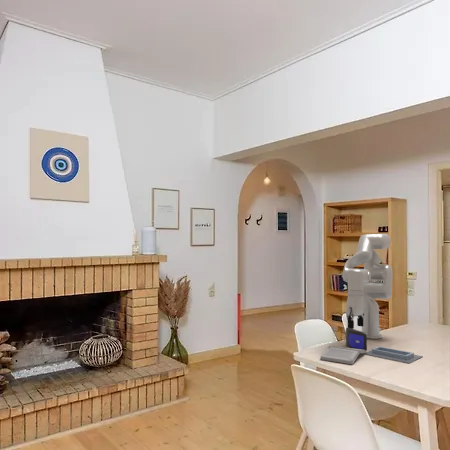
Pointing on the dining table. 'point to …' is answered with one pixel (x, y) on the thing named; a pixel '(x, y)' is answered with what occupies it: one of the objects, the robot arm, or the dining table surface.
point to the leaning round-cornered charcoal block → (356, 339)
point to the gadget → (341, 354)
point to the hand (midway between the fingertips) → (355, 327)
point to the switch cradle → (393, 354)
